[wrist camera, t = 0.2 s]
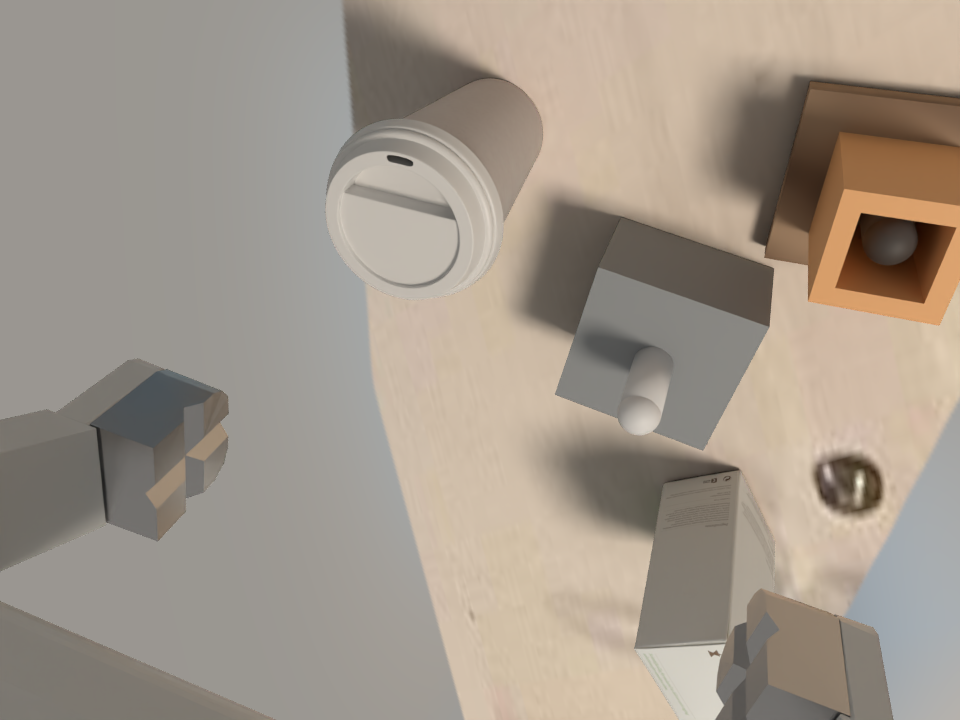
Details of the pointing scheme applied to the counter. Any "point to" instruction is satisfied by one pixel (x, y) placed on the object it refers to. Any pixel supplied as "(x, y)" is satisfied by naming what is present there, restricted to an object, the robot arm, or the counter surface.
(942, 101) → the stand
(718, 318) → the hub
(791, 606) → the robot arm
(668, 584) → the skincare box
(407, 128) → the coffee cup
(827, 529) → the counter surface
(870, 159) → the sleeve
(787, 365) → the counter surface
